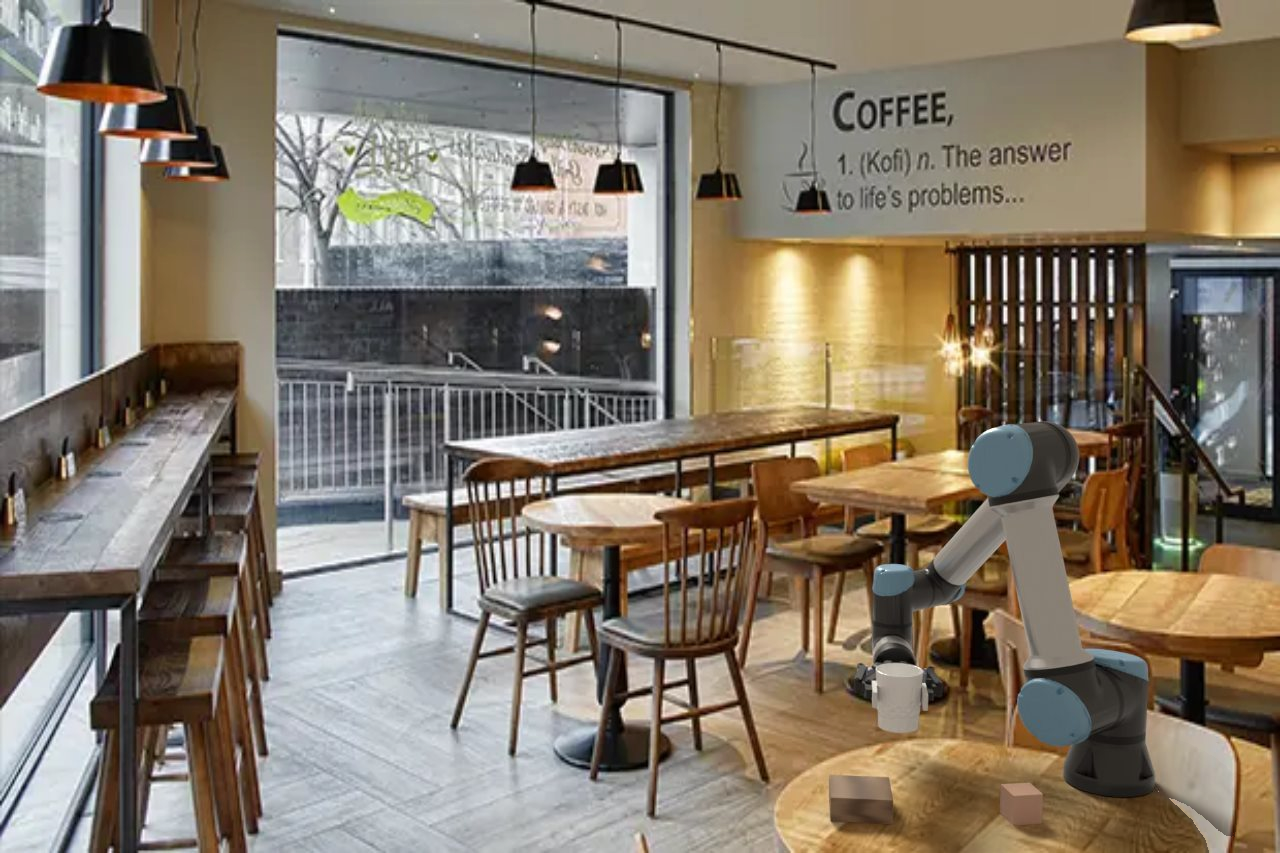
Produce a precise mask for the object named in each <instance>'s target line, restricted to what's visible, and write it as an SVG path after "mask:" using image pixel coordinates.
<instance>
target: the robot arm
mask: <svg viewBox="0 0 1280 853" xmlns="http://www.w3.org/2000/svg"><path fill="white" fill-rule="evenodd" d="M1079 462H1080V449H1079V446H1078V443H1077V440H1076V438H1075V437H1074V436H1073V434H1072V433H1071V432H1070V431H1069V430H1068V429H1066V428H1065V427H1064V426H1062V425H1060V424H1058V423H1055V422H1052V421H1048V420H1047V421H1045V420H1043V421H1035V422H1023V423H1013V424H1012V423H1009V424H1003V425H1000V426H997V427H993V428H990V429H987V430H986V431H984V432H982V433H981V434H980V435H979V436H977V438H976V439H975V441H974V443H973V444H972V446H971V447H970V450H969V453H968V458H967V471H968V475H969V479H970V480H971V483H972V484H973V486H974V487H975V488H977V489H978V490H979V492H980V493H982V494H984V495H986V497H987V498H986V499H985V500H984V502H983V503H982V504H981V505H980V506H979V507H978V508H977V509H976V510H975V512H974V513H973V514H972V515H971V516H970V518H969V517H968V519H967V521H966V522H965V523H964V524H962V527H960V529H958V531H956V533H955V534H954V535H953V537H952V538H950V540H949V541H948V542H947V543H946V544H945V545H944V547H942V548H941V550H940V551H939V552H937V554H936V555H935V556H934V557H933V559H931V560H930V562H928V564H927V565H926V566H925V567H924V568H923V569H917V570H914V569H913V568H912V567H910V566H909V565H907V564H906V565H905V564H898V563H890V564H889V563H887V564H880V565H878V566H876V568H875V569H874V572H873V583H872V586H871V587H872V588H871V589H872V623H871V636H870V649H871V652H872V662H873V663H872V665H871V667H869V665H868V664H867V665H865V664H864V663H863V662H859V663H856V664H857V666H856V674H855V675H854V678H853V680H854V681H853V683H854V684H853V693H855V694H861V693H862V692H864V699H866V700H871V704H872V705H871V706H872V709H877V685H876V667H877V666H879V665H882V664H887V663H903V664H910V665H914V666H917V667H919V666H918V665H917V664H916V660H915V656H914V651H913V641H912V640H913V625H914V623H913V622H914V621H913V616H914V615H913V614H914V612H917V611H922V610H926V609H931V608H934V607H939V606H945V605H949V604H951V603H953V602H955V601H958V600H959V599H960V598H962V596H963V595H964V594H965V591H966V588H967V581H968V580H969V579H970V578H972V576H973V575H974V574H975V573H976V572H977V571H978V570H979V569H980V568H981V567H982V565H984V564H985V563H986V561H987V560H988V559H989V558H990V557H991V556H992V555H993V554H994V553H995V552H996V551H997V550H998V548H999V547H1001V545H1002V544H1004V542H1005V544H1006V547H1007V552H1008V558H1009V561H1010V562H1009V563H1010V567H1011V571H1012V575H1013V576H1012V577H1013V581H1014V586H1015V589H1016V594H1017V600H1018V605H1019V609H1020V613H1021V619H1022V624H1023V629H1024V632H1025V638H1026V643H1027V648H1028V653H1029V656H1028V658H1027V659H1026V661H1025V662H1024V664H1023V665H1022V668H1023V674H1024V680H1025V682H1026V683H1024V685H1022V687H1021V689H1020V692H1019V693H1018V694H1017V699H1016V700H1017V702H1016V706H1017V712H1018V715H1019V718H1020V719H1021V723H1022V725H1023V726H1024V727H1025V728H1026V730H1027V731H1028V732H1029V733H1030V735H1032V736H1034V737H1036V739H1037V740H1038V741H1040V742H1042V743H1044V744H1045V745H1048V746H1053V747H1067V746H1069V748H1068V752H1067V754H1066V756H1065V760H1064V761H1063V769H1062V770H1063V771H1062V772H1063V774H1062V775H1063V779H1064V780H1065V781H1066V783H1068V784H1070V785H1071V786H1073V787H1074V788H1076V789H1079V790H1081V791H1084V792H1087V793H1091V794H1095V795H1098V796H1099V795H1100V796H1107V797H1112V798H1113V797H1115V798H1116V797H1117V798H1131V797H1132V798H1133V797H1139V796H1144V795H1147V794H1150V793H1151V792H1153V791H1154V790H1155V787H1156V786H1155V785H1156V773H1155V769H1154V767H1153V763H1152V759H1151V756H1150V753H1149V749H1148V746H1147V741H1146V739H1147V737H1146V736H1147V735H1146V734H1147V717H1148V716H1147V715H1148V699H1149V698H1148V694H1149V693H1148V692H1149V682H1150V678H1149V667H1148V666H1149V665H1148V664H1147V662H1146V661H1145V660H1144V659H1143V658H1141V657H1139V656H1137V655H1134V654H1131V653H1126V652H1122V651H1116V650H1109V649H1103V648H1102V649H1100V648H1083V646H1082V641H1081V636H1080V631H1079V627H1078V622H1077V618H1076V612H1075V608H1074V603H1073V599H1072V594H1071V590H1070V584H1069V581H1068V575H1067V570H1066V567H1065V566H1066V565H1065V561H1064V557H1063V551H1062V547H1061V542H1060V539H1059V538H1060V537H1059V532H1058V529H1057V524H1056V519H1055V514H1054V509H1053V507H1054V504H1056V502H1057V500H1058V499H1059V498H1060V494H1059V493H1060V492H1061V490H1063V488H1065V487H1066V485H1067V484H1068V483H1069V482H1070V481H1071V479H1073V477H1074V475H1075V474H1076V472H1077V469H1078V467H1079ZM935 669H936V668H935V667H934V666H931V665H929V666H927V668H926V667H924V668H923V669H922V670H923V681H922V696H921V706H922V711H924V712H926V711H929V702H933V701H934V697H936V698H942V697H943V681H942V680H941V679H940V677H939V676H938V674H937V673H936V672H935Z"/></svg>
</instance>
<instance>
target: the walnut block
mask: <svg viewBox="0 0 1280 853" xmlns="http://www.w3.org/2000/svg"><path fill="white" fill-rule="evenodd" d="M828 780H829V781H828V782H829V783H828V784H829V785H828V802H829V818H830V822H841V823H843V822H844V823H861V824H864V823H865V824H882V825H893V824H894V797H893V792H892V786H891V781H890V777H888V776H871V775H870V776H869V775H867V776H865V775H844V774H829V776H828Z"/></svg>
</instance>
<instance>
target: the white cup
mask: <svg viewBox="0 0 1280 853" xmlns="http://www.w3.org/2000/svg"><path fill="white" fill-rule="evenodd" d="M917 666H918V665H916V666H914V665H910V664H903V663H887V664H882V665H879V666H877V667H876V685H877V708H876V711H877V726H878V727H879V728H880V729H881V730H884V731H885V732H889V733H893V734H894V733H895V734H909V733H914V732H916V731H917V730H918V729H919V718H920V713H921V706H922V703H921V696H922V681H923V670H924V669H922V668H921V667H920V666H918V667H917Z"/></svg>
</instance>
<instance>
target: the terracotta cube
mask: <svg viewBox="0 0 1280 853" xmlns="http://www.w3.org/2000/svg"><path fill="white" fill-rule="evenodd" d="M999 795H1000V796H999V797H1000V799H999V800H1000V802H999V814H1000V815H1002V817H1004V819H1006V820H1007V821H1008V822H1009V823H1010V824H1011V825H1012V826H1021V825H1023V826H1024V825H1037V824H1039V825H1040V824H1042V825H1043V813H1044V812H1043V805H1044V793H1042V792H1041V791H1040V790H1039V789H1037V788H1036V786H1034V785H1033V784H1032V783H1031V782H1017V783H1016V782H1015V783H1001V784H1000V794H999Z"/></svg>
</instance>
